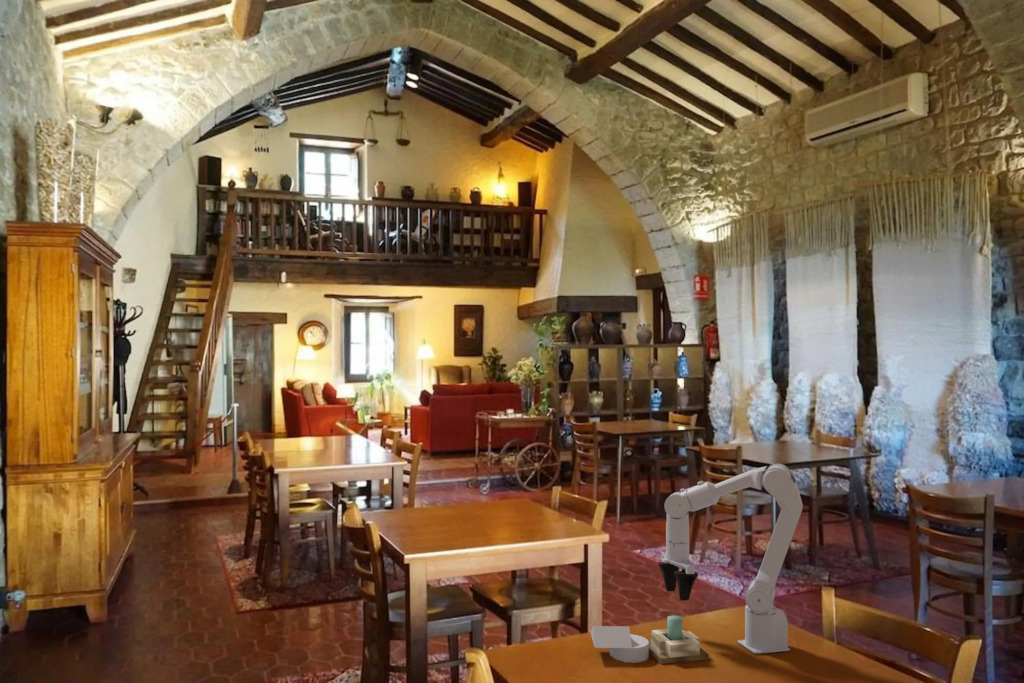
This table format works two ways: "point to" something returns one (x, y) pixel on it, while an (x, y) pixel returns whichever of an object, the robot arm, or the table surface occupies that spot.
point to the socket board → (675, 648)
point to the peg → (674, 628)
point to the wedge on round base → (621, 643)
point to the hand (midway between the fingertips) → (677, 595)
